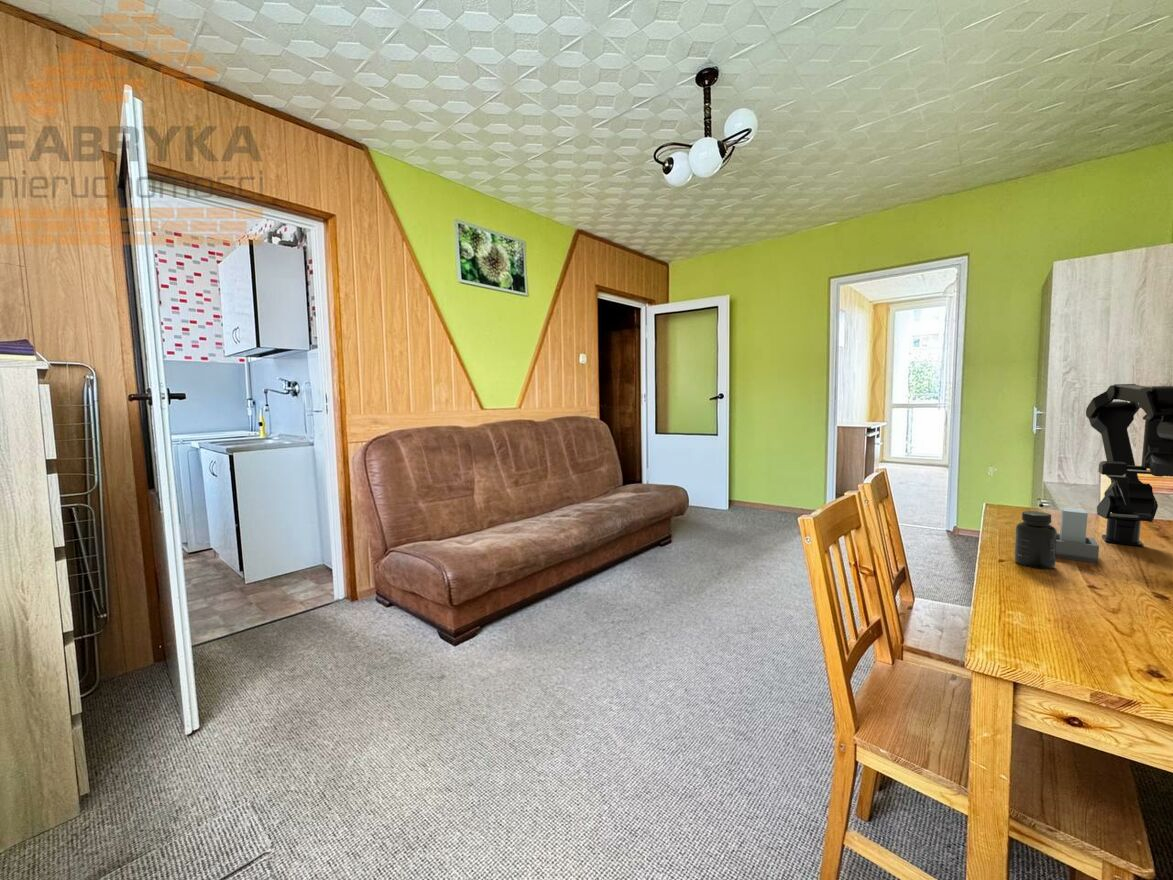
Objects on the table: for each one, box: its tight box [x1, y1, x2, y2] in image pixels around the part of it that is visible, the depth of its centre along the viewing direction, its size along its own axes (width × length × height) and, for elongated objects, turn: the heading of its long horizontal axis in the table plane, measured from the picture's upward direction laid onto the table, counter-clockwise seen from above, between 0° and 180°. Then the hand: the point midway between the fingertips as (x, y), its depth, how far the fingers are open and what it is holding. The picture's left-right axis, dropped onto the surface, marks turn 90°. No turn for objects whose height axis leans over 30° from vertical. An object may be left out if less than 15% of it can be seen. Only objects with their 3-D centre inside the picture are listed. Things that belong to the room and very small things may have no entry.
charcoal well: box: [1056, 533, 1100, 564], centre depth 113 cm, size 8×8×4 cm
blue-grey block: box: [1059, 507, 1088, 543], centre depth 113 cm, size 4×4×10 cm
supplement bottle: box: [1014, 510, 1058, 570], centre depth 108 cm, size 7×7×12 cm
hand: (1156, 507), depth 109 cm, fingers open, 9 cm apart
